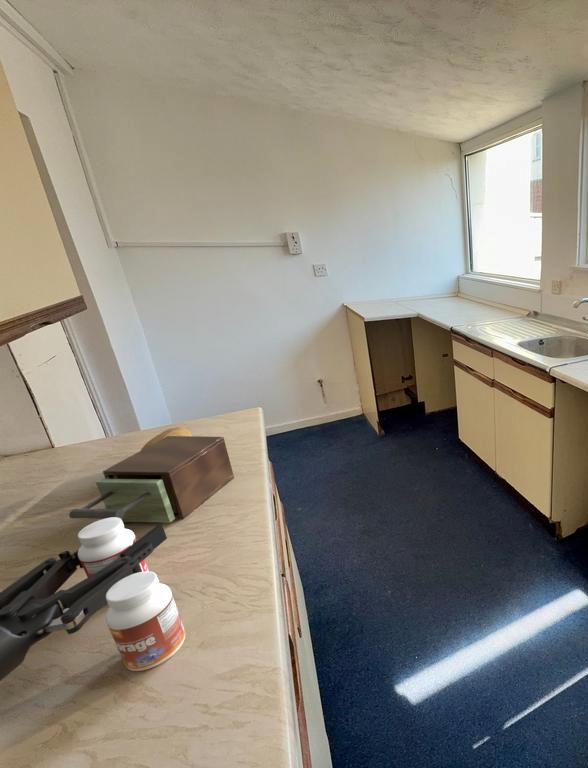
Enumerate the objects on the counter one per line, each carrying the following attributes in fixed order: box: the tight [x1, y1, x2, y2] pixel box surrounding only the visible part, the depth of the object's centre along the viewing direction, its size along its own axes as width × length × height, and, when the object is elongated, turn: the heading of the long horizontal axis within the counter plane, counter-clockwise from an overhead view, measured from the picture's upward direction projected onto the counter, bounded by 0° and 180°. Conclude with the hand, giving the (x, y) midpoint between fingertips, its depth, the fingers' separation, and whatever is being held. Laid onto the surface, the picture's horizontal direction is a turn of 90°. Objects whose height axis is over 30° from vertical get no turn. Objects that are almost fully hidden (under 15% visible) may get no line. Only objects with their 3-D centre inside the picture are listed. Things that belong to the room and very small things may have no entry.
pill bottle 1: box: [77, 517, 149, 578], centre depth 60 cm, size 6×6×11 cm
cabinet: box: [102, 435, 235, 520], centre depth 83 cm, size 15×13×11 cm
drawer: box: [68, 475, 178, 523], centre depth 77 cm, size 20×11×9 cm, turn 179°
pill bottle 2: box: [105, 570, 186, 672], centre depth 51 cm, size 6×6×11 cm
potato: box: [140, 427, 193, 451], centre depth 96 cm, size 10×14×8 cm
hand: (141, 531), depth 65 cm, fingers closed on pill bottle 1, 6 cm apart
